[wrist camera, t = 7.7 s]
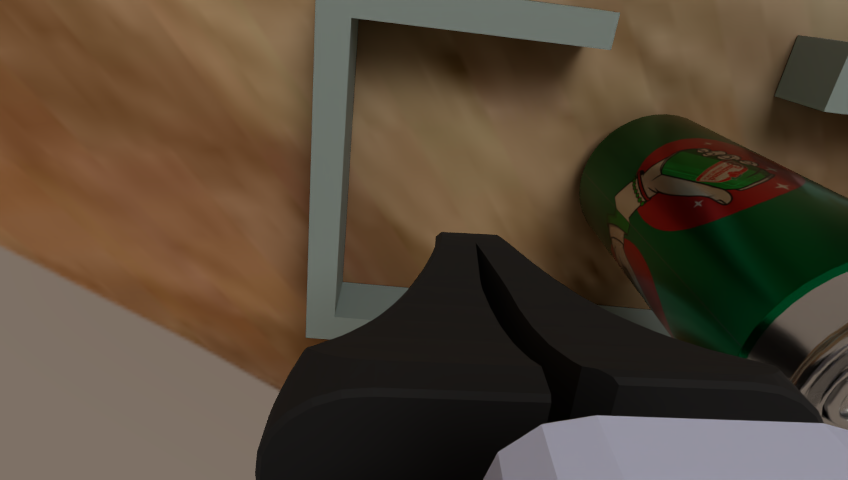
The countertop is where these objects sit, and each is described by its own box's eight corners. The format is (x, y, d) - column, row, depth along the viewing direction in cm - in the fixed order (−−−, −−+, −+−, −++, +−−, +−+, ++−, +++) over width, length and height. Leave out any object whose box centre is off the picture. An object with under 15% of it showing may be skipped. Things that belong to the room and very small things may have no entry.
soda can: (679, 250, 21) (952, 525, 11) (557, 228, 21) (714, 493, 10) (736, 125, 19) (1149, 310, 8) (601, 97, 19) (860, 255, 8)
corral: (1032, 65, 19) (1118, 77, 16) (869, 349, 24) (917, 388, 21) (328, -26, 17) (316, -27, 15) (316, 301, 22) (305, 337, 20)
